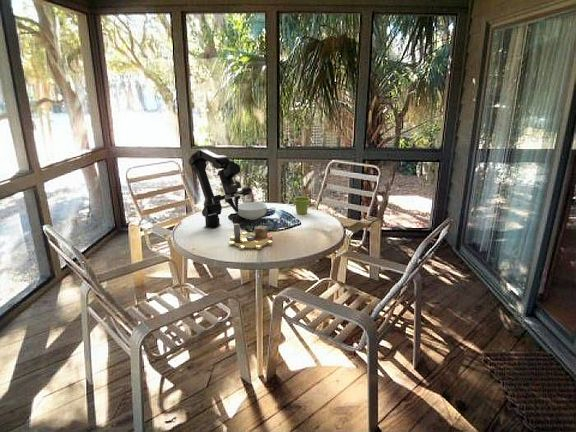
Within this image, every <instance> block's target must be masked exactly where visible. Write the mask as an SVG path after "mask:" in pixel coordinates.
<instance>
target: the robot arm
mask: <svg viewBox="0 0 576 432" xmlns="http://www.w3.org/2000/svg"><path fill="white" fill-rule="evenodd" d="M207 162H208V163H211V164H212V165H211V166H212V167H213V168H214V169H216V170H218V172H217V173H216V174H217V175H216V176H217V177H219V179H220V183H221V186H222V188H223V192H224V195H221V194H217V195H215V194H214V192H213V188H212V185H211V183H210V180H209V176H208V174H207V171H206V170H207V165H208V164H207ZM188 165H189V166H190V169H191V170H192V171H193V172H195V173H196V176H197V179H198V182H199V185H200V187H201V190H202V194H203V197H204V202H203V209H202V211H201V215H202V217H204V219H205V224H204V226H203V227H204V228H210V229H216V228H218V227H219V226H221V223H220V216H219V215H221V213H222V210H223V209H222V208H223V206H222V204H221V201H223V200H224V203H225V204H226V203H227V204H228V205H229V206H230V207H231V208H232V209H233V210H234V212H235V213H237V214H238V205H239V200H240V199H241V195H242V196H244V197H245V196H249V195H250V194H252V192H253V191H252V189H251V187H250V186H246V187H242V184H241V181H240V180H237V181H234V178H235V177H236V176H237V175H239V174H240V173H241V166H240V164H239V163H237V162H236V161H235V160H231V159H230V158H229V157H228V156H227V155H221V154H220V155H218V154H217V153H214V152H212V151H210V150H209V149H208V148H200V149H198V150H196V152H194V153H193V154H192V155H190V157H189V159H188ZM239 189H241V190H239Z"/></svg>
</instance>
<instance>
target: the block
mask: <svg viewBox="0 0 576 432" xmlns="http://www.w3.org/2000/svg"><path fill="white" fill-rule="evenodd" d="M254 232H255V237H257V238H265V237H266V236H267V235H269V233H268V226H267V225H258V226H256V227H255V228H254Z"/></svg>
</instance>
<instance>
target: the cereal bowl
mask: <svg viewBox="0 0 576 432" xmlns="http://www.w3.org/2000/svg"><path fill="white" fill-rule="evenodd" d="M267 211H268V205H267V204H266V203H263V202H259V201H255V202H254V201H252V202H251V201H250V202H249V201H248V202H243V203H240V204H238V213H237V214H238V215H239V216H240V217H241V218H244V219H246V220H248V219H249V220H250V221H254V220H258V219H260V218H261V217H264V216H265V215H266V213H267ZM249 220H248V221H249Z"/></svg>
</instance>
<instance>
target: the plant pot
mask: <svg viewBox="0 0 576 432" xmlns="http://www.w3.org/2000/svg"><path fill="white" fill-rule="evenodd" d="M310 200H311V198H309V197H307V196H296V197H294V198H293V201H294V203H295V205H294V206H295V211H296V214H297V215H305V214H308V209H309V204H310Z"/></svg>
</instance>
